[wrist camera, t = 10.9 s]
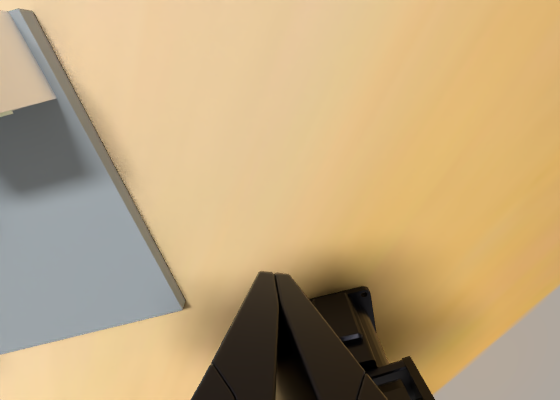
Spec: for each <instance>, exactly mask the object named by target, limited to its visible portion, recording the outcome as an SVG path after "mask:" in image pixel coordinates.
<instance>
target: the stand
mask: <svg viewBox="0 0 560 400" xmlns="http://www.w3.org/2000/svg"><path fill="white" fill-rule="evenodd" d="M184 304H185V299H184V297H183V295H182V293H181V291H180V289H179V287H178V286H177V284H176V282H175V280H174V278H173V276H172V274H171V272H170V270H169V268H168V267H167V265H166V263H165V261H164V259H163V257H162V255H161V253H160V251H159V250H158V248H157V246H156V244H155V242H154V240H153V238H152V236H151V234H150V233H149V231H148V229H147V227H146V225H145V223H144V221H143V219H142V217H141V216H140V214H139V212H138V210H137V208H136V206H135V204H134V202H133V200H132V199H131V197H130V195H129V193H128V191H127V189H126V187H125V185H124V183H123V182H122V180H121V178H120V176H119V174H118V172H117V170H116V168H115V166H114V165H113V163H112V161H111V159H110V157H109V155H108V153H107V151H106V149H105V148H104V146H103V144H102V142H101V140H100V138H99V136H98V134H97V132H96V130H95V129H94V127H93V125H92V123H91V121H90V119H89V117H88V115H87V113H86V112H85V110H84V108H83V106H82V104H81V102H80V100H79V98H78V96H77V95H76V93H75V91H74V89H73V87H72V85H71V83H70V81H69V79H68V78H67V76H66V74H65V72H64V70H63V68H62V66H61V64H60V62H59V61H58V59H57V57H56V55H55V53H54V51H53V49H52V47H51V45H50V44H49V42H48V40H47V38H46V36H45V34H44V32H43V30H42V28H41V27H40V25H39V23H38V21H37V19H36V17H35V15H34V13H33V11H30V10H24V9H15V10H12V11H2V10H0V354H4V353H9V352H13V351H17V350H21V349H25V348H29V347H33V346H37V345H41V344H46V343H50V342H54V341H58V340H62V339H66V338H70V337H74V336H78V335H83V334H87V333H91V332H95V331H99V330H103V329H107V328H111V327H115V326H120V325H124V324H128V323H132V322H136V321H140V320H144V319H148V318H152V317H157V316H161V315H165V314H169V313H173V312H177V311H181V310H183V307H184Z"/></svg>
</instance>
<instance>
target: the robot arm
mask: <svg viewBox="0 0 560 400" xmlns="http://www.w3.org/2000/svg"><path fill="white" fill-rule="evenodd" d="M364 292H365V293H364ZM362 293H363V294H362ZM191 400H435V399H434V397H433V395H432V394H431V392H430V390H429V388H428V387H427V385H426V383H425V382H424V380H423V378H422V376H421V375H420V373H419V371H418V369H417V368H416V366H415V364H414V362H413V361H412V359H411V357H410V356H408V357H405V358H402V360H400V361H397V362H394V363H391V364H389V362H388V360H387V358H386V355H385V353H384V351H383V348H382V346H381V344H380V341H379V339H378V337H377V334H376V328H375V321H374V314H373V308H372V301H371V294H370V291H369V289H368V288H367V287H359V288H354V289H350V290H346V291H342V292H338V293H334V294H329V295H325V296H321V297H317V298H313V299H308V298H307V296H306V295H305V294H304V293H303V291H302V290H301V289H300V288H299V286H298V285H297V284H296V282H295V281H294V280H293V279H292V277H291V276H290V275H289V274H283V273H275V274H273V273H272V272H264V271H260V272H259V273H258V275H257V277H256V278H255V280H254V282H253V284H252V286H251V288H250V290H249V292H248V294H247V296H246V297H245V299H244V301H243V303H242V305H241V307H240V309H239V311H238V313H237V315H236V317H235V318H234V320H233V322H232V324H231V326H230V328H229V330H228V332H227V334H226V336H225V338H224V339H223V341H222V343H221V345H220V347H219V349H218V351H217V353H216V355H215V357H214V359H213V360H212V362H211V365H210V366H209V368H208V370H207V371H206V373H205V375H204V377H203V379H202V381H201V383H200V384H199V386H198V388H197V390H196V391H195V393H194V395H193V397H192V398H191Z"/></svg>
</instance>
